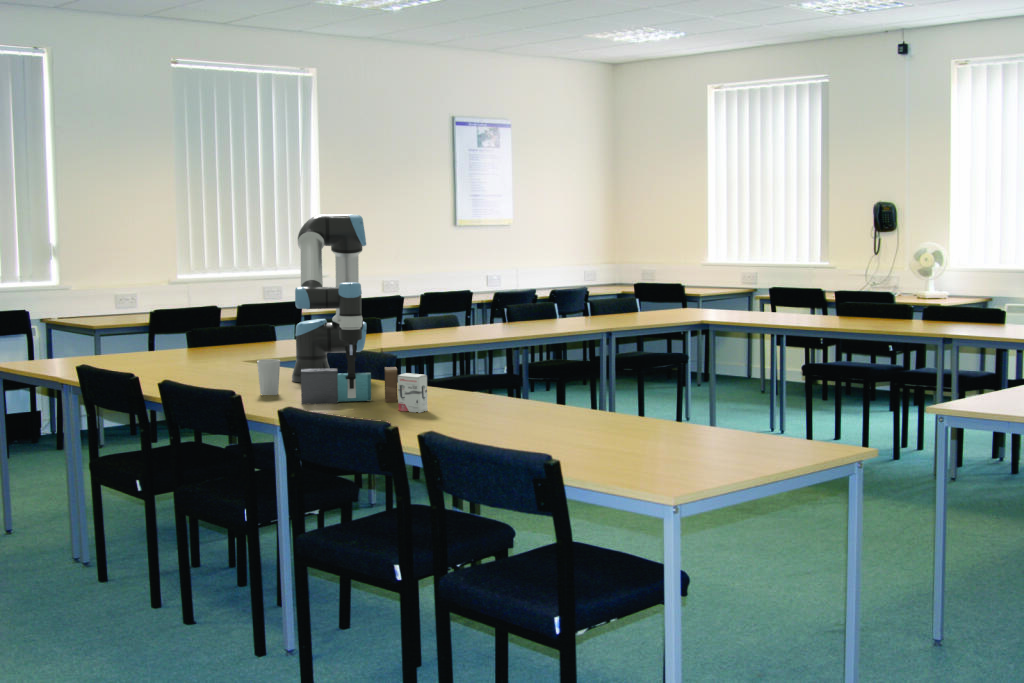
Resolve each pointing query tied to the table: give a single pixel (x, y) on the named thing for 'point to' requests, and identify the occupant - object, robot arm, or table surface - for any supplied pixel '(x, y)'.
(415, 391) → the ink box
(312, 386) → the dark gray box
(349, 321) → the robot arm
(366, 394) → the teal rectangular box
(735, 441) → the table surface
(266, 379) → the cup
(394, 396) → the socket
